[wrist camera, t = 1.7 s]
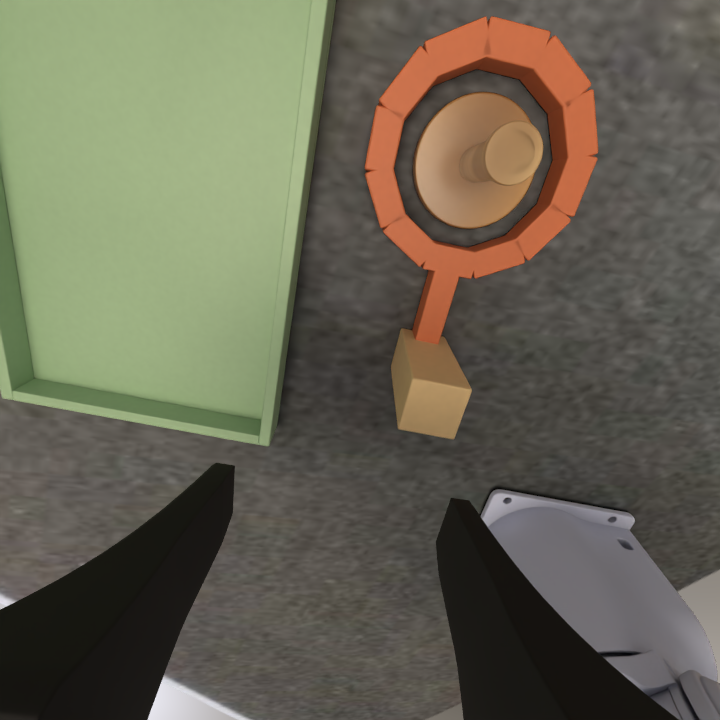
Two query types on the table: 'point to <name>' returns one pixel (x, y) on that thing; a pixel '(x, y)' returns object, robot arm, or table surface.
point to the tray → (156, 204)
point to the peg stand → (476, 160)
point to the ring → (449, 262)
